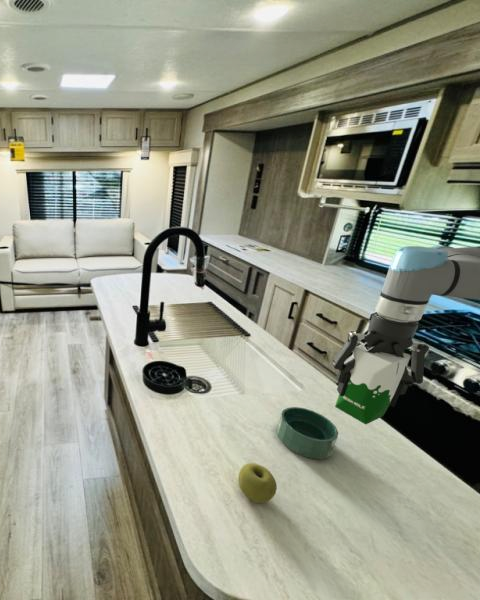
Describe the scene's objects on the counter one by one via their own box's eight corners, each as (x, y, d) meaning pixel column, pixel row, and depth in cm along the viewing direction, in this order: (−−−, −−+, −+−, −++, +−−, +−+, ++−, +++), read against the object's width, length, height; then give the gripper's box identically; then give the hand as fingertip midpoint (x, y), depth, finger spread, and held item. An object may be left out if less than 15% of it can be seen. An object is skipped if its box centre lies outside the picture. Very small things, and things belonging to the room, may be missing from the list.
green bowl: (324, 431, 91) (330, 413, 89) (337, 466, 80) (345, 447, 77) (273, 419, 96) (278, 402, 93) (280, 451, 85) (285, 433, 82)
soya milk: (389, 418, 77) (420, 348, 70) (367, 428, 74) (397, 356, 67) (349, 396, 85) (374, 331, 78) (328, 405, 82) (351, 338, 75)
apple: (244, 510, 70) (249, 487, 67) (230, 478, 78) (235, 457, 75) (279, 511, 70) (286, 489, 67) (261, 479, 77) (267, 458, 74)
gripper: (340, 315, 71) (315, 395, 79) (475, 332, 62) (431, 420, 70) (331, 303, 77) (309, 379, 85) (453, 317, 69) (414, 400, 77)
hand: (364, 397), depth 78 cm, fingers closed on soya milk, 9 cm apart
